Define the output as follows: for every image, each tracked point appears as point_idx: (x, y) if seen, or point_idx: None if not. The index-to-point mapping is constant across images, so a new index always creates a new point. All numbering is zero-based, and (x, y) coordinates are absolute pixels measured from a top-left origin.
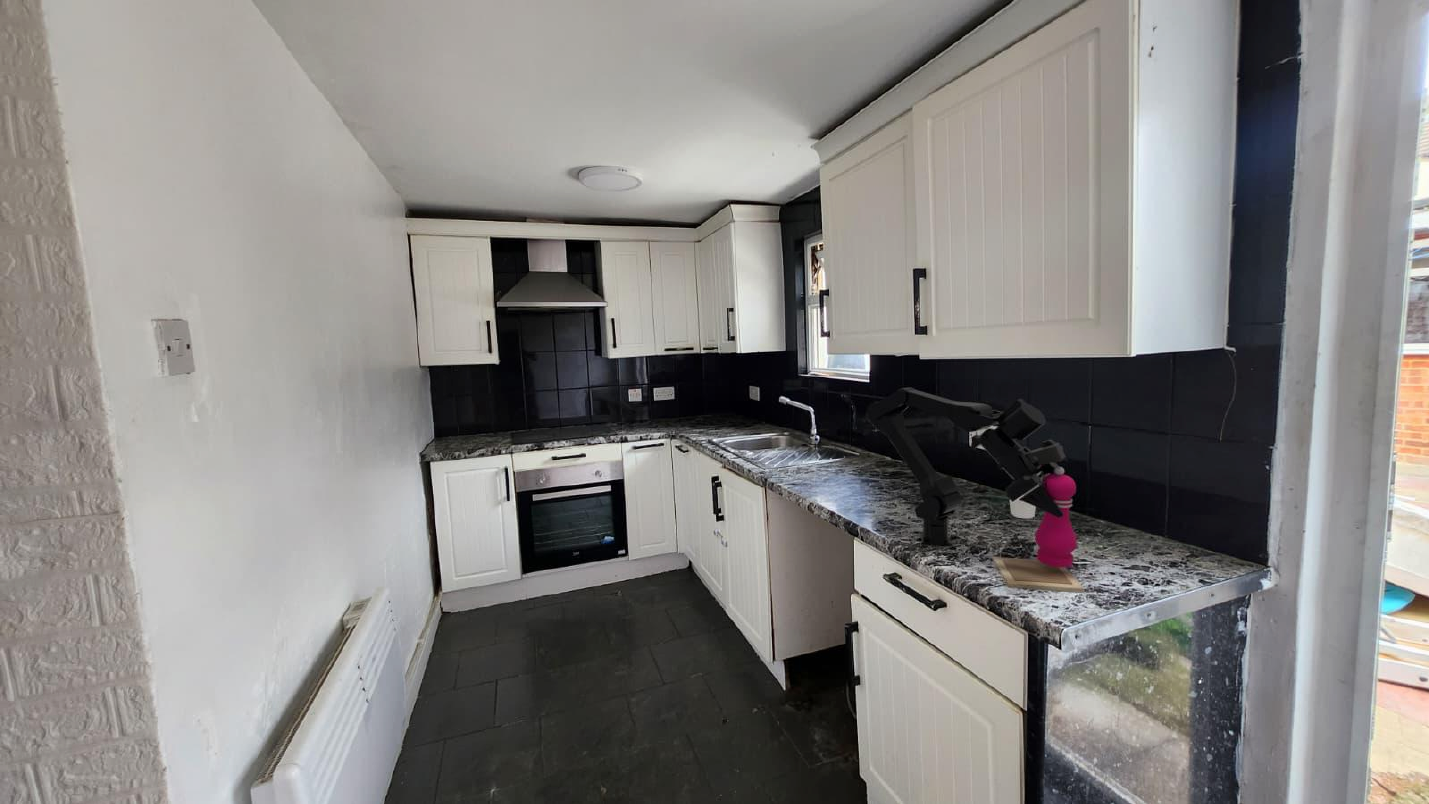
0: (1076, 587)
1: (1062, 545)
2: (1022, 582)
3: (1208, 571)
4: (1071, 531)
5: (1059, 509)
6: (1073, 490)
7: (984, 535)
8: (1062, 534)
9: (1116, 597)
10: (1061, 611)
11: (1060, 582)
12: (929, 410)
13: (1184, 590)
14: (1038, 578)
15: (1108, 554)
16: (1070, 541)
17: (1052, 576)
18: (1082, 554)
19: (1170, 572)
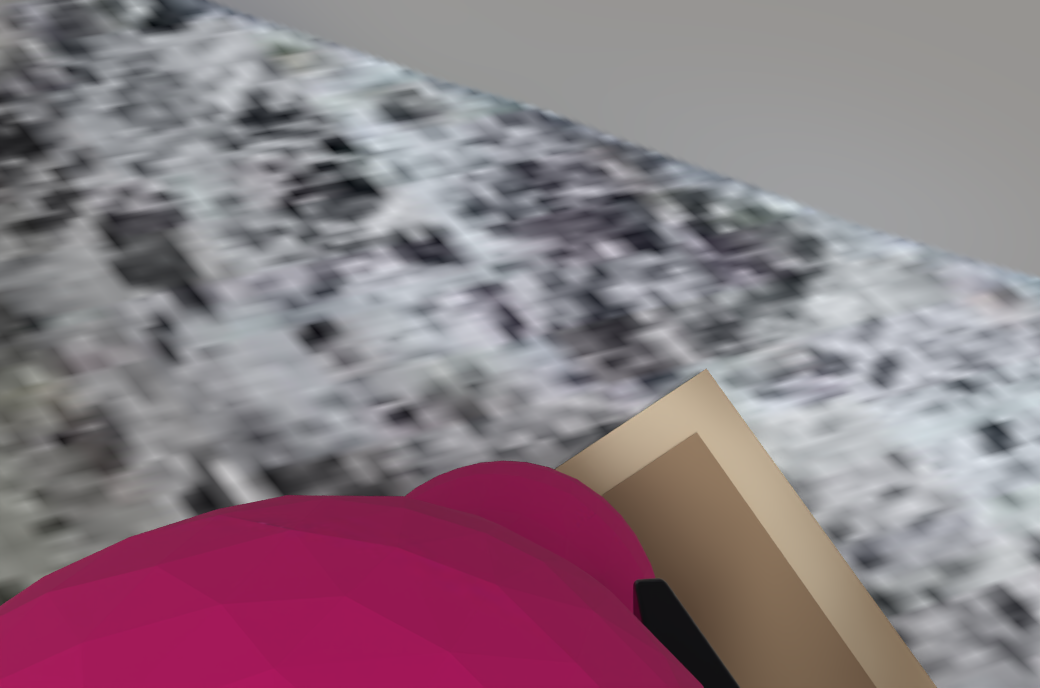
0: (719, 404)
1: (632, 532)
2: (888, 670)
3: (15, 21)
4: (509, 498)
5: (698, 650)
6: (451, 516)
7: None
8: (613, 552)
9: (638, 244)
10: (1027, 395)
11: (728, 488)
12: None
13: (332, 52)
14: (768, 608)
15: (27, 415)
16: (574, 486)
17: (672, 551)
18: (111, 530)
19: (128, 133)
